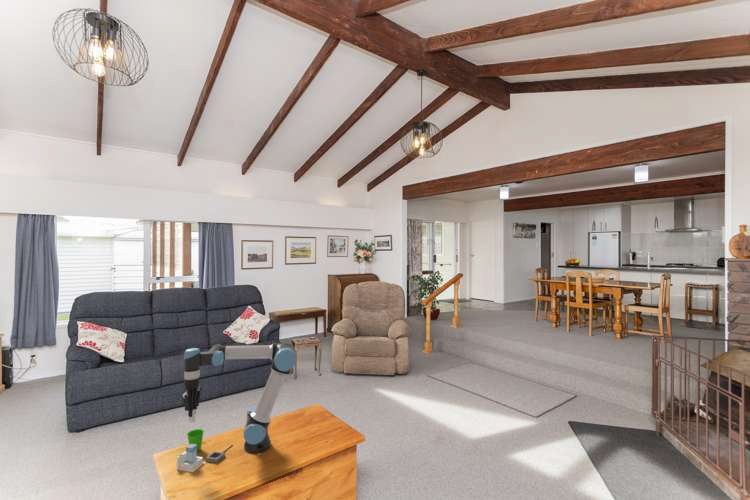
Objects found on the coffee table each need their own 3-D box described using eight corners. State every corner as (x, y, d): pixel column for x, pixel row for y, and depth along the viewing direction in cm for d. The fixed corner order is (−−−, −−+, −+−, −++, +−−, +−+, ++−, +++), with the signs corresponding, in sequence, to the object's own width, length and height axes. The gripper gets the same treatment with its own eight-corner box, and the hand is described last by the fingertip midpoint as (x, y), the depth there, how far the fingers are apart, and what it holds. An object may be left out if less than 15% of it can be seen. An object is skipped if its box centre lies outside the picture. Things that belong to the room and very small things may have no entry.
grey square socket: (224, 457, 213) (224, 452, 213) (216, 464, 206) (216, 459, 206) (214, 455, 215) (214, 451, 215) (205, 462, 208) (205, 457, 208)
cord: (233, 446, 225) (233, 444, 225) (220, 456, 214) (220, 454, 214) (232, 446, 225) (232, 444, 225) (219, 456, 214) (219, 454, 214)
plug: (197, 464, 205) (197, 444, 205) (192, 468, 201) (192, 448, 201) (191, 463, 206) (191, 443, 206) (185, 467, 202) (185, 447, 202)
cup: (197, 456, 214) (197, 436, 214) (183, 454, 216) (183, 435, 216) (207, 448, 223) (207, 429, 223) (193, 446, 224) (193, 428, 225)
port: (205, 463, 207) (205, 449, 207) (192, 473, 197) (192, 458, 198) (190, 460, 210) (190, 446, 210) (176, 470, 200) (176, 456, 200)
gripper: (194, 373, 211) (194, 416, 211) (176, 381, 199) (177, 426, 199) (206, 374, 209) (206, 417, 209) (189, 382, 197) (189, 428, 197)
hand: (192, 421), depth 204 cm, fingers closed
